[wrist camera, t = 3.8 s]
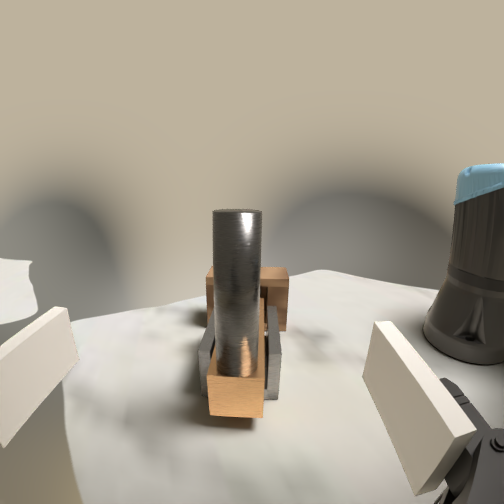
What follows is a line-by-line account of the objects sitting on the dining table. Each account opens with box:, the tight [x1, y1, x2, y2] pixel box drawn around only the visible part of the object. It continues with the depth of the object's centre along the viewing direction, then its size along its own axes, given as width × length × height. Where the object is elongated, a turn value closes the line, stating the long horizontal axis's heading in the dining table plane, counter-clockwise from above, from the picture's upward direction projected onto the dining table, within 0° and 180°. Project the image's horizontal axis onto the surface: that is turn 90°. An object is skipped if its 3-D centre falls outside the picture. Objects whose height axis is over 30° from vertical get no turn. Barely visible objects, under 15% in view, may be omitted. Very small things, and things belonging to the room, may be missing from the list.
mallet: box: [207, 209, 265, 418], centre depth 26 cm, size 4×15×15 cm, turn 178°
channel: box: [198, 306, 282, 399], centre depth 29 cm, size 7×10×5 cm
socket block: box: [206, 266, 289, 331], centre depth 39 cm, size 10×5×7 cm, turn 88°
